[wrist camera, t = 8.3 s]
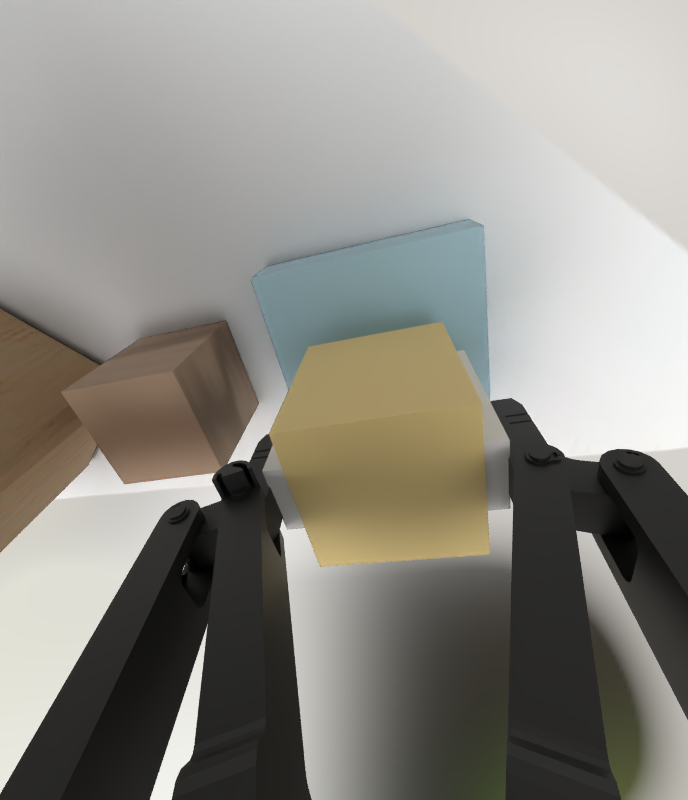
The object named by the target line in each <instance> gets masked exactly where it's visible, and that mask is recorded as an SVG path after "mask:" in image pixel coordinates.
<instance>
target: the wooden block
mask: <svg viewBox="0 0 688 800" xmlns="http://www.w3.org/2000/svg"><path fill="white" fill-rule="evenodd" d="M99 366H100V365H98V364H97V363H95V362H93V361H91V360H90V359H88V358H86V357H84V356H83V355H81V354H79V353H77V352H76V351H74V350H72V349H70V348H68V347H67V346H65V345H63V344H61V343H60V342H58V341H56V340H54V339H53V338H51V337H49V336H47V335H46V334H44V333H42V332H40V331H38V330H37V329H35V328H33V327H31V326H30V325H28V324H26V323H24V322H23V321H21V320H19V319H17V318H16V317H14V316H12V315H10V314H8V313H7V312H5V311H3V310H1V309H0V552H1V551H2V550H3V549H4V548H5V547H6V546H7V545H8V544H9V543H10V542H11V541H12V540H13V539H14V538H15V537H16V536H17V535H18V534H19V533H20V532H21V531H22V530H23V529H24V528H25V527H26V526H27V525H28V524H29V523H30V522H31V521H32V520H33V519H34V518H35V517H37V516H38V514H39V513H40V512H41V511H43V510H44V508H46V506H48V505H49V504H50V503H51V502H52V501H53V500H54V499H55V498H56V497H57V496H58V495H59V494H60V493H61V492H62V491H63V490H64V489H65V488H66V487H67V486H68V485H69V484H70V483H71V482H72V481H73V480H74V479H75V478H76V477H77V476H78V475H79V474H80V473H81V472H82V471H83V470H84V469H85V468H86V467H87V466H88V465H89V462H90V460H91V458H92V455H93V453H94V451H95V449H96V446H97V444H96V442H95V441H94V439H93V438H92V436H91V435H90V434H89V432H88V431H87V429H86V428H85V426H84V425H83V423H82V422H81V421H80V419H79V418H78V416H77V415H76V413H75V412H74V410H73V409H72V408H71V406H70V405H69V403H68V402H67V400H66V399H65V397H64V396H63V395H62V393H61V391H63V390H64V389H66V388H67V387H69V386H70V385H72V384H73V383H75V382H76V381H78V380H79V379H81V378H82V377H84V376H85V375H87V374H88V373H90V372H91V371H93V370H94V369H96V368H97V367H99Z"/></svg>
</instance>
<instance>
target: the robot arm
mask: <svg viewBox="0 0 688 800" xmlns="http://www.w3.org/2000/svg"><path fill="white" fill-rule="evenodd" d="M457 353H458V355H459V357H460V359H461V361H462V363H463V365H464V367H465V369H466V372H467V374H468V376H469V378H470V380H471V382H472V384H473V386H474V388H475V390H476V392H477V394H478V396H479V398H480V401H481V403H482V417H483V436H484V454H485V472H486V490H487V509H488V511H489V510H500V509H509V508H510V497H511V500H512V502H513V541H512V583H511V626H510V666H509V708H508V712H509V713H508V714H509V715H508V738H507V762H506V800H621V797H620V794H619V790H618V786H617V782H616V780H615V778H614V776H613V774H612V772H611V769H610V766H609V760H608V754H607V747H606V740H605V733H604V726H603V720H602V712H601V705H600V698H599V691H598V683H597V676H596V669H595V662H594V655H593V648H592V641H591V634H590V627H589V619H588V612H587V605H586V598H585V591H584V584H583V576H582V569H581V562H580V555H579V548H578V541H577V534H576V530H577V531H582V532H588V533H592V534H593V537H594V539H595V541H596V543H597V545H598V547H599V548H600V550H601V552H602V554H603V556H604V558H605V560H606V562H607V564H608V566H609V568H610V570H611V572H612V574H613V576H614V578H615V580H616V582H617V583H618V585H619V587H620V589H621V591H622V593H623V595H624V597H625V599H626V601H627V603H628V605H629V606H630V609H631V611H632V613H633V614H634V616H635V618H636V620H637V622H638V624H639V626H640V628H641V630H642V632H643V634H644V636H645V638H646V640H647V642H648V644H649V646H650V647H651V649H652V651H653V653H654V655H655V657H656V659H657V661H658V663H659V665H660V667H661V669H662V671H663V673H664V675H665V677H666V678H667V680H668V682H669V684H670V686H671V688H672V690H673V692H674V694H675V696H676V698H677V700H678V702H679V704H680V706H681V707H682V710H683V711H684V713H685V715H686V717H687V719H688V495H687V494H686V493H685V492H684V491H683V490H682V489H681V487H680V486H679V485H678V484H677V483H676V482H675V481H674V479H673V478H672V477H671V476H670V475H669V474H668V473H667V471H666V470H665V469H664V468H663V467H662V466H661V465H660V464H659V462H657V461H656V460H655V459H654V458H652V457H651V456H648V455H646V454H644V453H642V452H638V451H634V450H629V449H616V450H611V451H608V452H606V453H604V454H603V455H602V456H601V458H600V461H599V462H591V461H580V460H574V459H570V458H566V457H565V456H564V454H563V453H562V452H561V451H560V450H559V449H557V448H555V447H553V446H550V445H548V444H547V443H546V441H545V439H544V438H543V436H542V435H541V433H540V432H539V430H538V429H537V427H536V425H535V424H534V422H533V421H532V419H531V418H530V416H529V415H528V414H527V412H526V410H525V408H524V407H523V405H522V404H520V403H519V402H517V401H515V400H514V399H512V398H509V399H502V400H496V401H490V400H489V398H488V396H487V394H486V393H485V391H484V389H483V387H482V385H481V383H480V381H479V379H478V377H477V375H476V373H475V371H474V369H473V367H472V365H471V363H470V361H469V359H468V357H467V355H466V353H465V351H464V350H460V351H457ZM254 452H255V453H253V455H252V458H251V460H250V462H247V461H235V462H231V463H229V464H227V465H225V466H223V467H222V468H221V469H219V470H218V471H217V472H216V473H215V474H214V476H213V479H212V481H213V483H214V485H215V487H216V489H217V491H218V493H219V495H220V496H221V498H222V499H221V501H219V502H217V503H214V504H211V505H209V506H205V507H203V508H200V506H199V504H198V503H197V502H195V501H194V500H185V501H182V502H179V503H177V504H175V505H173V506H172V507H170V508H169V509H168V510H167V511H166V512H165V513H164V514H163V515H162V517H161V518H160V520H159V521H158V523H157V525H156V527H155V528H154V530H153V532H152V533H151V535H150V537H149V539H148V540H147V542H146V544H145V545H144V547H143V549H142V551H141V553H140V554H139V556H138V558H137V560H136V561H135V563H134V564H133V566H132V568H131V570H130V571H129V573H128V575H127V577H126V578H125V580H124V582H123V583H122V585H121V587H120V589H119V590H118V592H117V594H116V595H115V597H114V599H113V601H112V602H111V604H110V606H109V608H108V609H107V611H106V613H105V614H104V616H103V618H102V620H101V621H100V623H99V625H98V627H97V628H96V630H95V632H94V633H93V635H92V637H91V639H90V640H89V642H88V644H87V645H86V647H85V649H84V651H83V652H82V654H81V656H80V658H79V659H78V661H77V663H76V665H75V666H74V668H73V670H72V671H71V673H70V675H69V676H68V678H67V680H66V682H65V683H64V685H63V687H62V689H61V690H60V692H59V694H58V695H57V697H56V699H55V701H54V702H53V704H52V706H51V707H50V709H49V711H48V713H47V714H46V716H45V718H44V720H43V721H42V723H41V725H40V727H39V728H38V730H37V732H36V733H35V735H34V737H33V739H32V740H31V742H30V744H29V746H28V747H27V749H26V751H25V752H24V754H23V756H22V757H21V759H20V761H19V763H18V764H17V766H16V768H15V770H14V771H13V773H12V775H11V777H10V778H9V780H8V782H7V783H6V785H5V787H4V788H3V790H2V792H1V794H0V800H150V796H151V793H152V791H153V788H154V785H155V781H156V779H157V775H158V773H159V769H160V766H161V763H162V760H163V757H164V754H165V751H166V748H167V745H168V742H169V739H170V736H171V733H172V730H173V727H174V724H175V721H176V718H177V715H178V712H179V709H180V706H181V703H182V700H183V697H184V693H185V691H186V687H187V685H188V682H189V679H190V676H191V672H192V669H193V666H194V663H195V660H196V657H197V654H198V651H199V648H200V645H201V642H202V639H203V636H204V633H205V630H206V627H207V624H208V627H207V636H206V646H205V654H204V663H203V672H202V681H201V691H200V700H199V709H198V718H197V728H196V736H195V745H194V750H193V755H192V757H191V759H190V761H189V762H188V763H187V764H186V765H185V766H184V767H183V768H181V770H180V773H179V775H178V777H177V779H176V782H175V787H174V792H173V796H172V800H312V799H311V796H310V793H309V789H308V784H307V779H306V771H305V761H304V750H303V740H302V729H301V719H300V708H299V698H298V688H297V677H296V666H295V656H294V645H293V634H292V624H291V613H290V603H289V592H288V582H287V572H286V561H285V550H284V540H283V536H282V533H281V531H280V526H281V522H282V519H283V521H284V523H285V525H286V528H287V529H298V528H305V527H304V524H303V521H302V519H301V516H300V514H299V511H298V508H297V506H296V503H295V501H294V498H293V495H292V493H291V490H290V488H289V485H288V483H287V480H286V477H285V475H284V472H283V470H282V467H281V464H280V462H279V459H278V457H277V454H276V451H275V449H274V446H273V444H272V441H271V439H270V436H269V434H267V435H266V436H265V437H264V438H263V439H262V440H261V441H260V442H259V443H258V445H257V447H256V449H255V451H254ZM184 565H185V567H184ZM183 568H184V570H183ZM182 571H183V572H182Z"/></svg>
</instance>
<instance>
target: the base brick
mask: <svg viewBox="0 0 688 800" xmlns="http://www.w3.org/2000/svg"><path fill="white" fill-rule="evenodd" d="M251 282H252V285H253V288H254V291H255V293H256V296H257V299H258V302H259V305H260V308H261V311H262V314H263V317H264V320H265V323H266V325H267V328H268V331H269V334H270V337H271V340H272V343H273V346H274V349H275V352H276V355H277V357H278V360H279V363H280V366H281V369H282V372H283V375H284V378H285V381H286V384H287V387H288V389H289V388H290V386H291V384H292V382H293V380H294V377H295V375H296V373H297V371H298V369H299V366H300V364H301V362H302V360H303V358H304V355H305V353H306V351H307V349H308V347H309V346H314V345H320V344H325V343H330V342H336V341H341V340H346V339H352V338H357V337H363V336H368V335H373V334H379V333H384V332H389V331H395V330H400V329H405V328H411V327H416V326H422V325H427V324H432V323H438V322H443V324H444V326H445V328H446V330H447V332H448V334H449V336H450V338H451V340H452V343H453V345H454V347H455V349H456V351H460V350H464V351H465V353H466V355H467V357H468V359H469V361H470V363H471V365H472V367H473V369H474V371H475V373H476V375H477V377H478V379H479V381H480V383H481V385H482V387H483V389H484V391H485V393H486V394H487V396H488V398H489V400H490V386H489V358H488V330H487V302H486V274H485V247H484V225H481V224H479V223H477V222H474V221H472V220H470V219H468V220H464V221H459V222H455V223H451V224H446V225H442V226H438V227H434V228H429V229H425V230H421V231H416V232H412V233H408V234H404V235H399V236H395V237H391V238H386V239H382V240H378V241H374V242H369V243H365V244H361V245H356V246H352V247H348V248H343V249H339V250H335V251H331V252H326V253H322V254H318V255H313V256H309V257H305V258H301V259H296V260H292V261H288V262H283V263H279V264H275V265H271V266H266V267H265V268H264V269H262V270H261V271H260V272H259V273H257V274H256V275H255V276H254V277H252V278H251Z"/></svg>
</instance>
